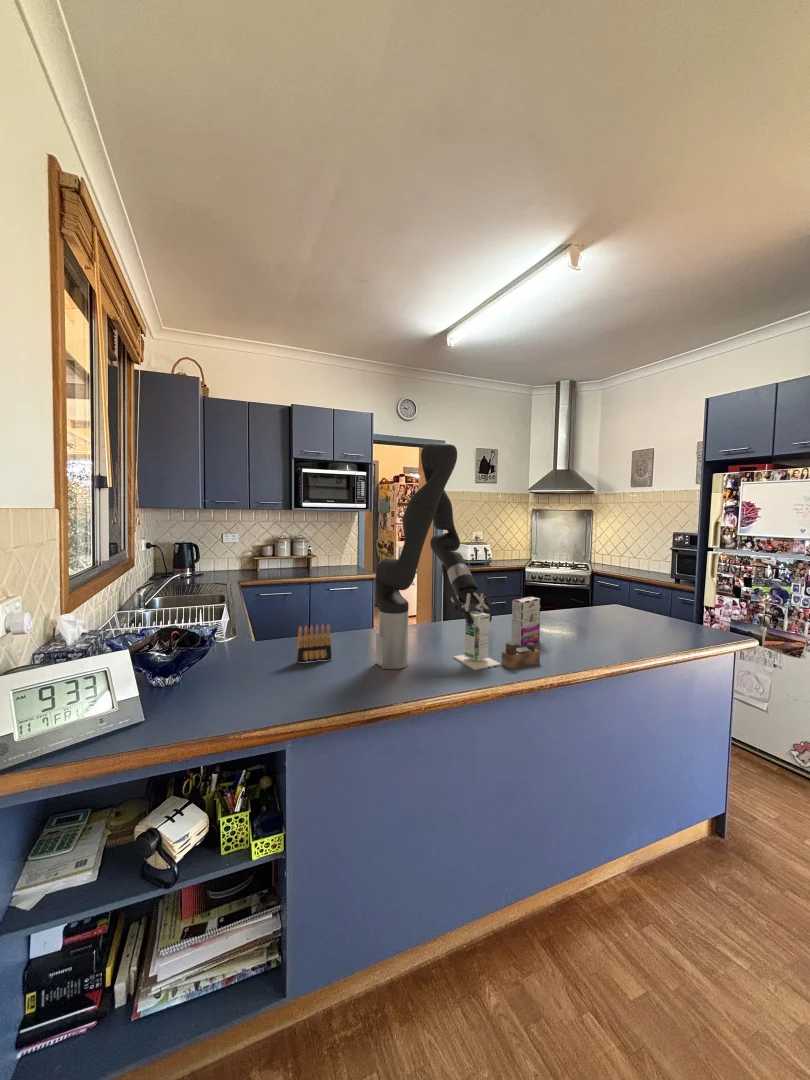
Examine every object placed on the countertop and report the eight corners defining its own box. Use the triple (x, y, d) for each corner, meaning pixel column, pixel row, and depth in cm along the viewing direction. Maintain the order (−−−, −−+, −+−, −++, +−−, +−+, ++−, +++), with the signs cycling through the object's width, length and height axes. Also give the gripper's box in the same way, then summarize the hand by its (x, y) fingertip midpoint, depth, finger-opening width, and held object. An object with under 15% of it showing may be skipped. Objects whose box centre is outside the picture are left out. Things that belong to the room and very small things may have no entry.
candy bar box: (528, 638, 172) (530, 596, 171) (539, 641, 168) (541, 598, 167) (510, 643, 165) (511, 599, 164) (521, 646, 161) (522, 601, 160)
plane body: (509, 668, 139) (510, 646, 138) (501, 664, 142) (502, 642, 142) (539, 663, 144) (540, 641, 143) (531, 659, 148) (531, 638, 147)
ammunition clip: (297, 664, 139) (297, 626, 139) (296, 662, 141) (296, 625, 140) (331, 660, 143) (331, 624, 142) (330, 659, 145) (330, 622, 144)
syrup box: (463, 656, 145) (464, 612, 144) (476, 653, 148) (477, 610, 147) (476, 661, 140) (477, 616, 139) (489, 658, 144) (490, 613, 143)
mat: (474, 670, 137) (474, 668, 137) (453, 658, 148) (453, 656, 148) (500, 665, 141) (500, 663, 141) (479, 654, 152) (479, 652, 152)
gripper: (447, 574, 146) (466, 618, 136) (484, 572, 152) (504, 614, 143) (439, 587, 151) (456, 631, 142) (474, 585, 158) (494, 626, 148)
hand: (480, 622), depth 142 cm, fingers closed on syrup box, 6 cm apart
